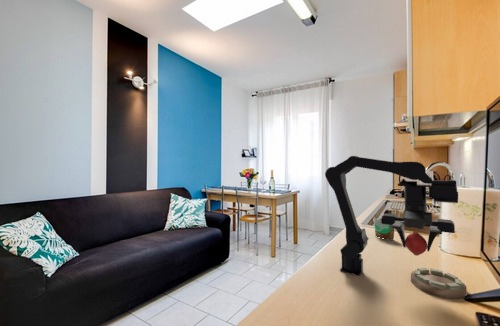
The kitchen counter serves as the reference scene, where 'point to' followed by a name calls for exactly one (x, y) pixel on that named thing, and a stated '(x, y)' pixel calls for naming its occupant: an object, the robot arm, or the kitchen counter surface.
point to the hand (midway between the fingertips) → (416, 249)
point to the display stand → (438, 283)
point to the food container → (383, 229)
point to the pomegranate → (416, 243)
